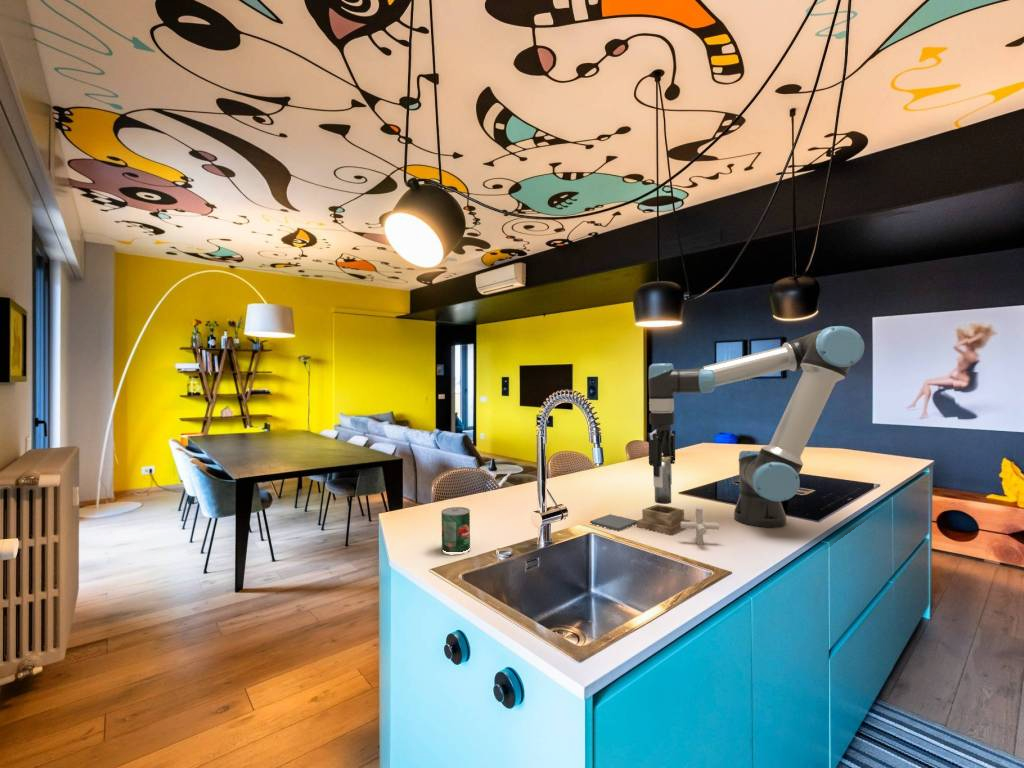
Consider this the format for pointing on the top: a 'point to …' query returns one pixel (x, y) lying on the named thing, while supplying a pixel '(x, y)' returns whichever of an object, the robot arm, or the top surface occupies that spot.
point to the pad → (614, 522)
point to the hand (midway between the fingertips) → (662, 485)
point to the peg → (664, 483)
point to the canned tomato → (455, 529)
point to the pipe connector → (699, 525)
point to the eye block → (662, 519)
